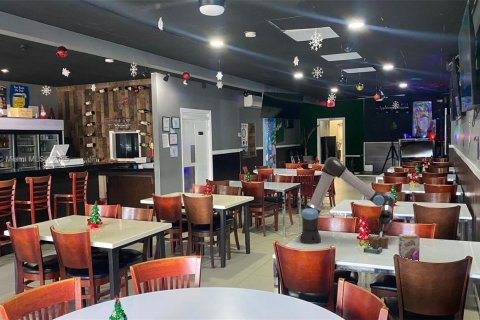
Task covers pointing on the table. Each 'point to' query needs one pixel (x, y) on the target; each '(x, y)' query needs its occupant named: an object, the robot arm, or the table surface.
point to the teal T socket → (373, 250)
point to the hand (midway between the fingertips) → (380, 240)
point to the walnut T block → (378, 242)
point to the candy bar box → (409, 246)
